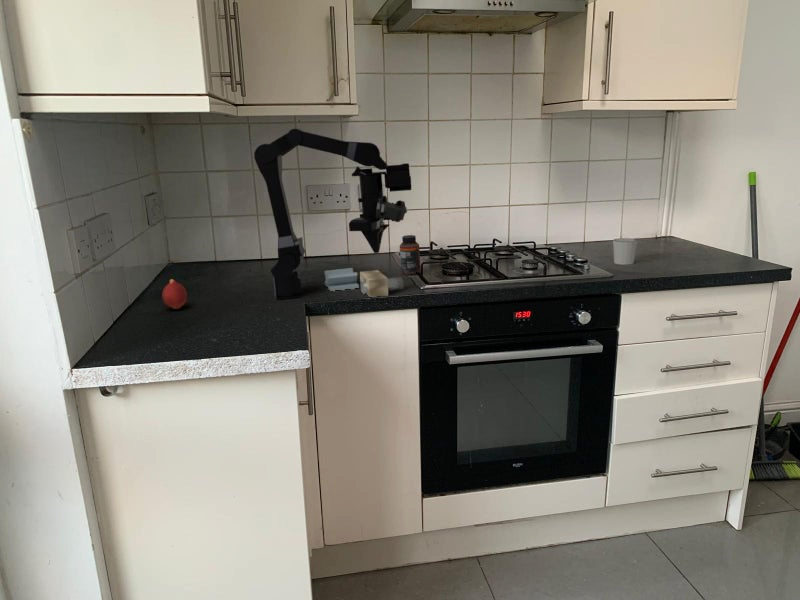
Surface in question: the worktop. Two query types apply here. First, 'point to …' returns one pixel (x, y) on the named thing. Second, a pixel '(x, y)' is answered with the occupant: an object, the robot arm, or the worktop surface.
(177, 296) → the onion
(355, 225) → the robot arm
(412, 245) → the supplement bottle
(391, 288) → the axle
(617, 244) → the grey cup
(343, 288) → the v block
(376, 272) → the beam
